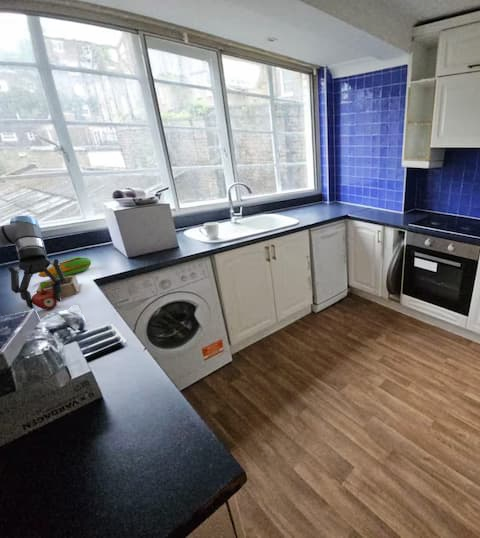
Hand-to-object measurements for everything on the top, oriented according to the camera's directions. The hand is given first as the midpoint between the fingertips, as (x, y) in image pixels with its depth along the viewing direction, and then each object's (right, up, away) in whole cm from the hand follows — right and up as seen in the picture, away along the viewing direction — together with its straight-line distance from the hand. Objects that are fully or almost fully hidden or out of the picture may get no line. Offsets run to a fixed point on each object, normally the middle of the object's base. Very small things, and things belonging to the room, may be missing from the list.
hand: (44, 303), depth 110 cm
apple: (-2, -2, +4) cm, 5 cm away
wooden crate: (-10, +3, +16) cm, 19 cm away
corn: (-25, +10, +35) cm, 44 cm away
